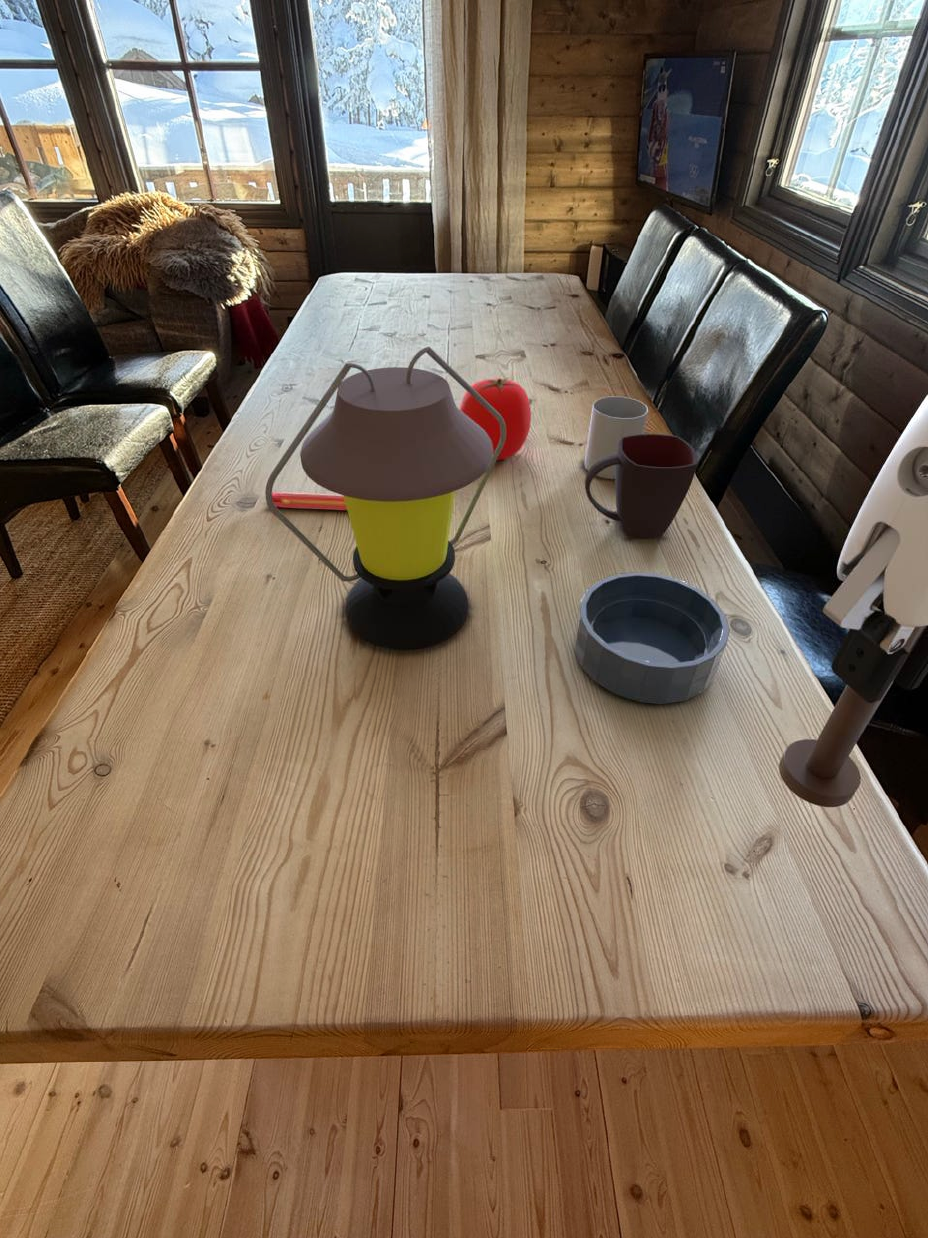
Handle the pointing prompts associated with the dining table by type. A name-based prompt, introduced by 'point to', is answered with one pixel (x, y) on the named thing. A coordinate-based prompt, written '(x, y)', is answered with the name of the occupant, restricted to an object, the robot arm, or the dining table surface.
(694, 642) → the bowl
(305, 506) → the red bar
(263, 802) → the dining table surface
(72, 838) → the dining table surface
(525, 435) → the tomato
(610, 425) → the cup
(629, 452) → the mug
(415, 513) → the lantern
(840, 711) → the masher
